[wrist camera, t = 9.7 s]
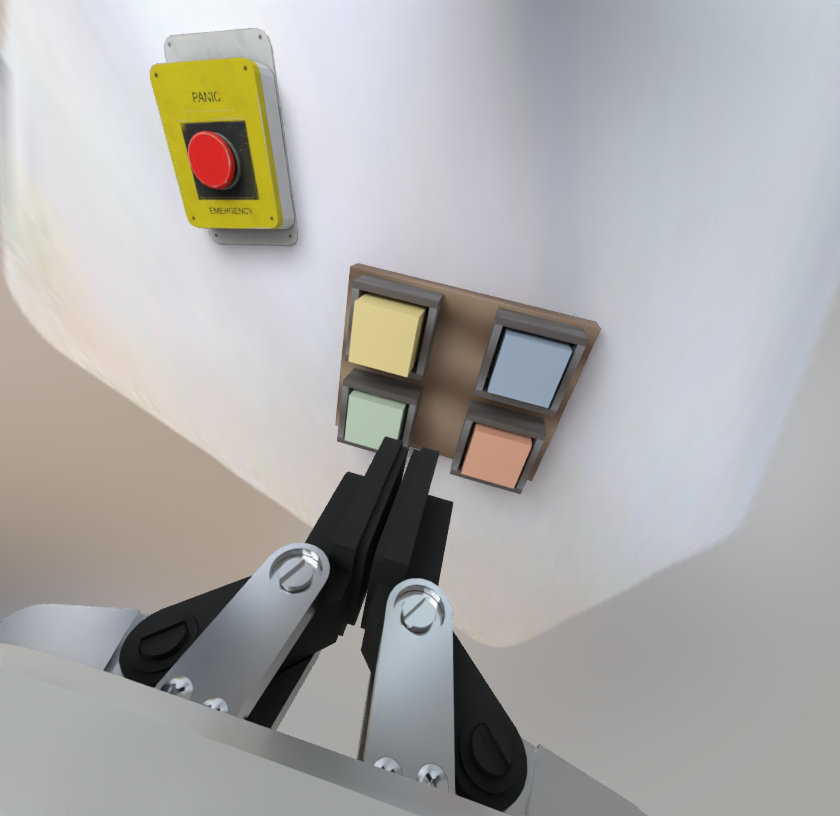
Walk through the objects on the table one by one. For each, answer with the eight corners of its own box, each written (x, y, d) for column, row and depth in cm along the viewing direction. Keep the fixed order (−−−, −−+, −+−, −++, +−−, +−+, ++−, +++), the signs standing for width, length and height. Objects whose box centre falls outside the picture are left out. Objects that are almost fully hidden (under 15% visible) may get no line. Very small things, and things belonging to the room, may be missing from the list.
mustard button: (368, 291, 33) (354, 301, 30) (427, 306, 32) (418, 317, 29) (361, 347, 35) (348, 361, 32) (415, 362, 35) (407, 377, 32)
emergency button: (182, 248, 34) (117, 16, 27) (215, 243, 38) (166, 38, 30) (278, 250, 32) (236, 4, 25) (302, 245, 36) (272, 29, 29)
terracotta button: (477, 412, 37) (475, 430, 34) (530, 426, 37) (531, 445, 34) (464, 453, 40) (461, 473, 37) (513, 467, 40) (513, 488, 37)
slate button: (506, 322, 33) (506, 334, 30) (566, 337, 32) (572, 351, 29) (489, 376, 35) (487, 391, 32) (544, 390, 35) (548, 408, 32)
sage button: (361, 380, 38) (349, 395, 35) (411, 394, 38) (402, 410, 35) (356, 422, 41) (344, 440, 38) (402, 435, 41) (394, 454, 38)
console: (357, 263, 35) (336, 272, 31) (596, 322, 33) (608, 340, 29) (342, 416, 44) (324, 439, 40) (530, 469, 42) (533, 500, 38)
